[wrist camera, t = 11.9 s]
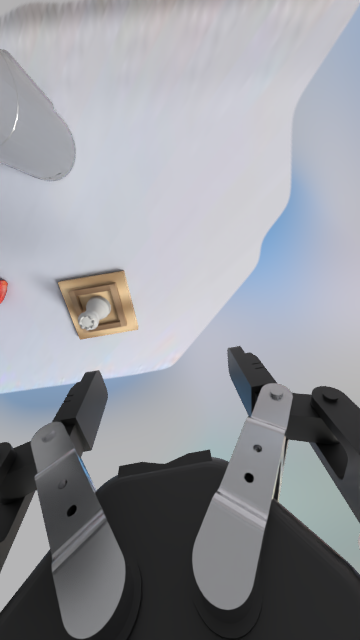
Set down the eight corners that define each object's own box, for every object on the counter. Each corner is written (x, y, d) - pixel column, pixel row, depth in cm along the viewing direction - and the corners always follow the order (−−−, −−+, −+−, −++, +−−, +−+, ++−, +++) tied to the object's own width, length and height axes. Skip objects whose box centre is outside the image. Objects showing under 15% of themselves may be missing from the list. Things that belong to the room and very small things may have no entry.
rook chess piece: (101, 290, 40) (88, 305, 32) (116, 309, 41) (106, 326, 34) (82, 303, 40) (65, 319, 33) (98, 320, 42) (85, 340, 35)
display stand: (60, 281, 40) (54, 284, 37) (123, 270, 40) (121, 272, 38) (82, 336, 44) (77, 342, 42) (138, 327, 45) (137, 332, 42)
